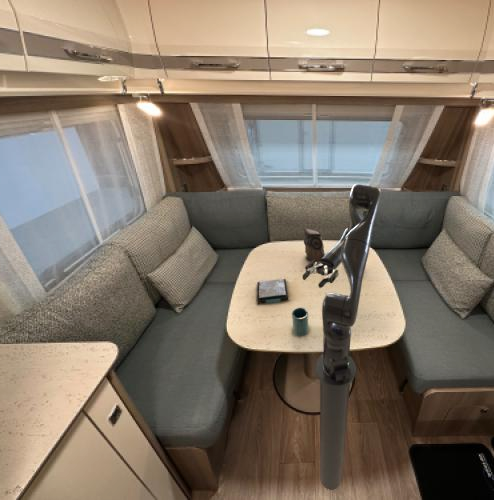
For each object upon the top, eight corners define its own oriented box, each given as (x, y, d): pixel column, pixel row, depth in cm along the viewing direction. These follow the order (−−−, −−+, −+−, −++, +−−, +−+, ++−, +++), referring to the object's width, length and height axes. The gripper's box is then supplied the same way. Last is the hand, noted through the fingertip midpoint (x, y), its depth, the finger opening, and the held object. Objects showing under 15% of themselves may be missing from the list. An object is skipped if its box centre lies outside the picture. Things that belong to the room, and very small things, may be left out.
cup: (309, 334, 114) (309, 317, 109) (294, 337, 113) (293, 319, 108) (307, 323, 120) (306, 306, 114) (292, 325, 119) (291, 308, 113)
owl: (324, 264, 160) (324, 235, 150) (303, 264, 160) (302, 235, 150) (324, 253, 171) (324, 225, 161) (304, 253, 171) (303, 225, 161)
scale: (288, 301, 133) (288, 296, 131) (257, 305, 130) (257, 300, 129) (285, 282, 146) (285, 277, 144) (257, 285, 143) (257, 280, 142)
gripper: (319, 247, 120) (296, 270, 111) (346, 257, 112) (323, 282, 103) (322, 259, 125) (300, 282, 116) (347, 269, 117) (326, 295, 108)
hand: (311, 282), depth 110 cm, fingers open, 8 cm apart
